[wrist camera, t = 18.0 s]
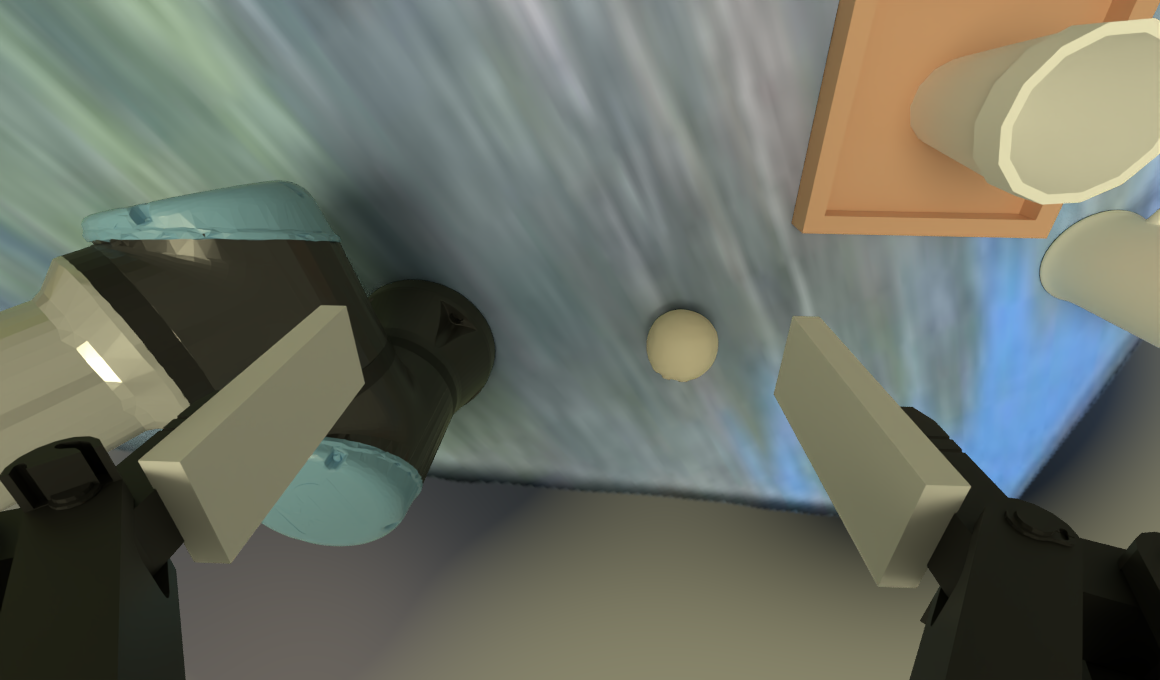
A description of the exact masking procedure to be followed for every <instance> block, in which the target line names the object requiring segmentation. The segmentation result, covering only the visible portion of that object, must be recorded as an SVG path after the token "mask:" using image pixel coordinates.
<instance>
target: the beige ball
mask: <svg viewBox="0 0 1160 680" xmlns="http://www.w3.org/2000/svg"><path fill="white" fill-rule="evenodd" d="M717 351H718V336H717V332H716V330H715V328H714V327H713V325H712V324H711V323H710V321H709V320H708V319H706V318H705V317H704V316H702V315H700V314H699V313H696V312H693V311H689V310H683V309H679V310H673V311H669V312H667V313H665V314H663V315H661V316H660V317H659V318H657V319H656V321H655V322H654V323H653V325H652V327H651V328H650V331H649V333H648V337H647V354H648V358H649V361H650V363H651V365H652V367H653V369H654V370H655V371H656V372H657V373H660V374H661V375H662V377H663V378H665V379H667V380H670V379H673V380H678V381H679V382H687V381H689V380H692V379H696V378H698V377H700V376H701V375H702V374H704V373H705V372H706V371H707V370H708V369H709V368H710V367H711V366H712V364H713V362H714V360H715V358H716V355H717Z"/></svg>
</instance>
